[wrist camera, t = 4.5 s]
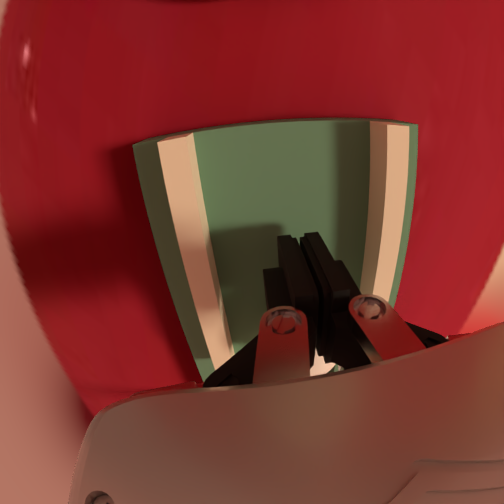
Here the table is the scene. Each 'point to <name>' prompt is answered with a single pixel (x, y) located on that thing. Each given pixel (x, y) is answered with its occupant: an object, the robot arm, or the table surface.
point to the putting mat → (273, 213)
